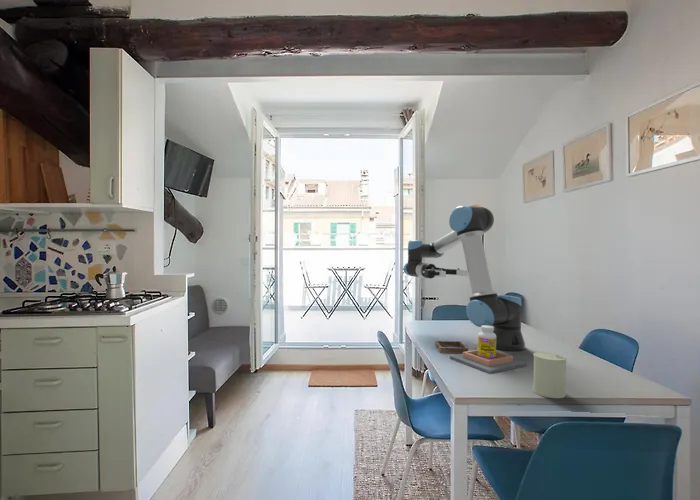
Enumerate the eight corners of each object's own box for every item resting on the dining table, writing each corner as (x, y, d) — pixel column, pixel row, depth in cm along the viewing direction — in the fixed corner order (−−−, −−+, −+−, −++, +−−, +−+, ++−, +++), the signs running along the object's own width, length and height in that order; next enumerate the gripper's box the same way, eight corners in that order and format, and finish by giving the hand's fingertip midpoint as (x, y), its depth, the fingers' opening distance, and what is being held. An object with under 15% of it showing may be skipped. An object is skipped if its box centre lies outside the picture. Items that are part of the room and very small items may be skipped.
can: (565, 400, 113) (565, 360, 113) (530, 394, 118) (531, 355, 118) (566, 390, 121) (567, 353, 121) (534, 384, 126) (535, 348, 126)
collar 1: (435, 345, 174) (435, 340, 174) (460, 345, 174) (461, 341, 174) (440, 352, 162) (440, 347, 162) (468, 353, 162) (468, 348, 162)
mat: (449, 358, 154) (449, 355, 154) (485, 352, 164) (485, 349, 164) (489, 373, 137) (489, 370, 137) (526, 365, 146) (526, 362, 146)
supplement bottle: (477, 360, 148) (478, 327, 148) (477, 356, 155) (478, 324, 154) (496, 362, 146) (497, 328, 146) (495, 357, 152) (496, 325, 152)
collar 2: (462, 357, 153) (462, 352, 153) (485, 352, 159) (486, 348, 159) (488, 366, 141) (488, 361, 141) (512, 361, 148) (512, 356, 148)
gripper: (444, 277, 204) (475, 280, 185) (406, 278, 192) (435, 282, 173) (445, 263, 204) (475, 265, 185) (407, 263, 192) (435, 266, 173)
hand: (456, 273), depth 179 cm, fingers open, 13 cm apart
